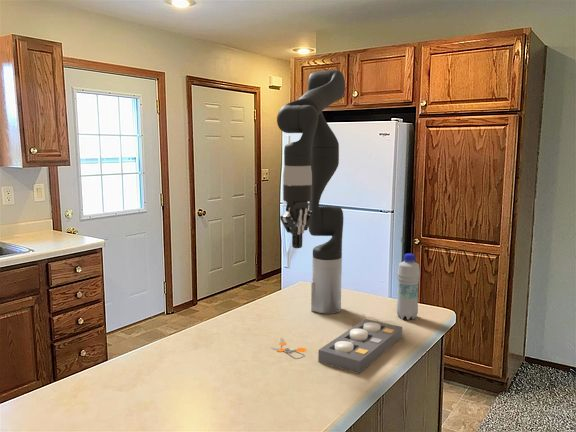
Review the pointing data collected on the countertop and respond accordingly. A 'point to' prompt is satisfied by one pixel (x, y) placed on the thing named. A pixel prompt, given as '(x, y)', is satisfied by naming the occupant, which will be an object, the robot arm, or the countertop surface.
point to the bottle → (408, 287)
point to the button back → (372, 327)
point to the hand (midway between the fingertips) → (297, 247)
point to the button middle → (359, 335)
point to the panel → (361, 347)
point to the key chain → (289, 349)
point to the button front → (344, 346)
